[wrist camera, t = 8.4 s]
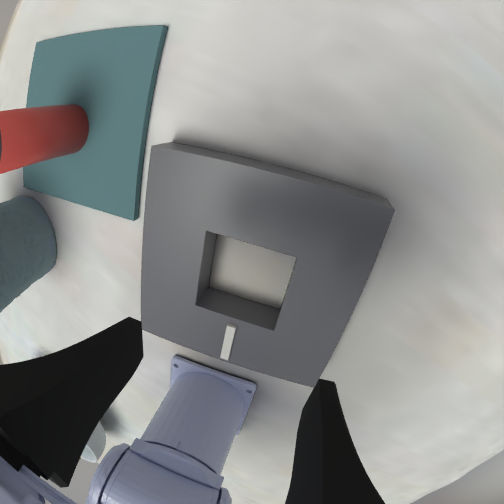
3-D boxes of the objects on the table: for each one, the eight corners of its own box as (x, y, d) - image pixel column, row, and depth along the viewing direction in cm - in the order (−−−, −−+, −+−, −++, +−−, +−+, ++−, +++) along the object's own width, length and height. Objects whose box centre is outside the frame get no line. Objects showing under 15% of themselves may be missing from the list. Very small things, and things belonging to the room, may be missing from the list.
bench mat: (138, 218, 22) (133, 220, 21) (28, 185, 23) (23, 187, 23) (167, 27, 16) (163, 25, 15) (41, 42, 17) (36, 42, 17)
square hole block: (316, 365, 23) (313, 390, 21) (155, 312, 25) (139, 331, 22) (386, 198, 17) (395, 211, 15) (171, 142, 19) (148, 146, 16)
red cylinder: (86, 156, 20) (3, 180, 13) (54, 151, 20) (-23, 173, 13) (91, 104, 18) (4, 111, 11) (58, 104, 19) (-23, 114, 12)
